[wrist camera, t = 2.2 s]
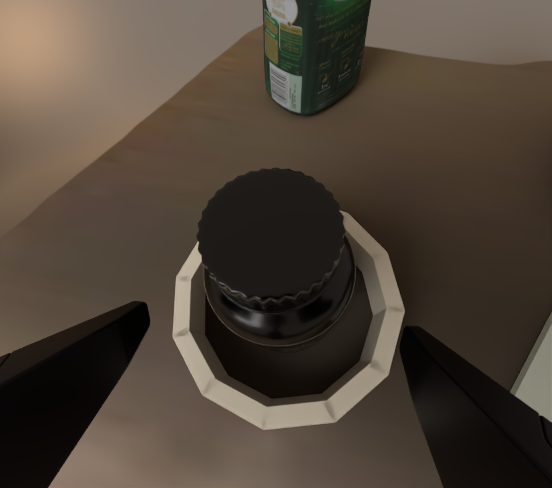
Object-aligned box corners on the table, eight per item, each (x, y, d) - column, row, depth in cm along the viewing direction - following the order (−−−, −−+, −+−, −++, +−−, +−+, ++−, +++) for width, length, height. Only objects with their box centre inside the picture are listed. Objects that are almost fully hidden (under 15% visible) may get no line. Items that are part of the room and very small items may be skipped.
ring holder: (260, 470, 15) (253, 495, 12) (160, 283, 20) (139, 272, 18) (428, 323, 18) (453, 317, 15) (302, 190, 23) (303, 167, 20)
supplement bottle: (335, 263, 20) (383, 149, 9) (330, 359, 17) (391, 362, 6) (248, 254, 21) (195, 139, 10) (231, 345, 18) (132, 325, 7)
